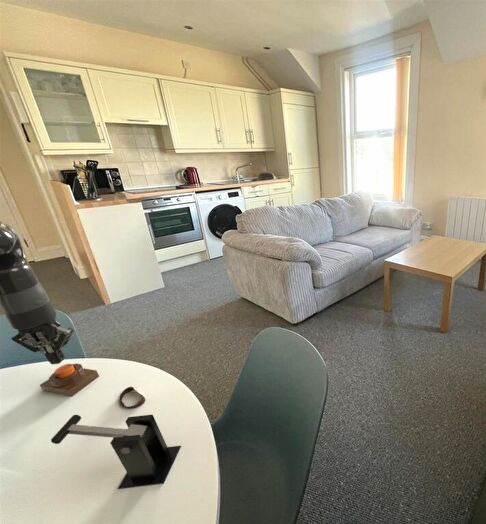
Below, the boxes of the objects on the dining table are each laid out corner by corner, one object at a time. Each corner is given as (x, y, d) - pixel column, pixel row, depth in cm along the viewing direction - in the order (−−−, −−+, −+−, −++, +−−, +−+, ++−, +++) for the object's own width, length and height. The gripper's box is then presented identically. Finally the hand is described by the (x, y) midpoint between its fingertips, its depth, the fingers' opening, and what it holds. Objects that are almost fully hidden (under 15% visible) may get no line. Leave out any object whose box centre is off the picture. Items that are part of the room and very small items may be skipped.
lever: (51, 445, 48) (49, 435, 47) (73, 421, 52) (71, 412, 51) (136, 452, 50) (136, 443, 49) (151, 428, 54) (151, 419, 53)
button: (53, 377, 74) (50, 372, 74) (68, 367, 78) (65, 362, 77) (64, 379, 74) (61, 374, 73) (78, 369, 77) (76, 364, 76)
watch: (152, 401, 70) (147, 391, 69) (130, 416, 67) (125, 405, 65) (137, 389, 74) (132, 378, 73) (116, 402, 71) (111, 391, 69)
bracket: (120, 492, 52) (94, 449, 47) (142, 453, 58) (121, 413, 54) (165, 486, 53) (144, 444, 48) (182, 449, 59) (165, 408, 54)
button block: (43, 391, 75) (35, 380, 74) (71, 371, 81) (65, 361, 80) (72, 396, 73) (65, 385, 71) (99, 376, 79) (93, 365, 78)
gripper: (69, 294, 71) (95, 350, 78) (12, 298, 70) (44, 354, 77) (42, 310, 64) (73, 370, 71) (-21, 315, 63) (16, 375, 70)
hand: (58, 361), depth 74 cm, fingers closed
